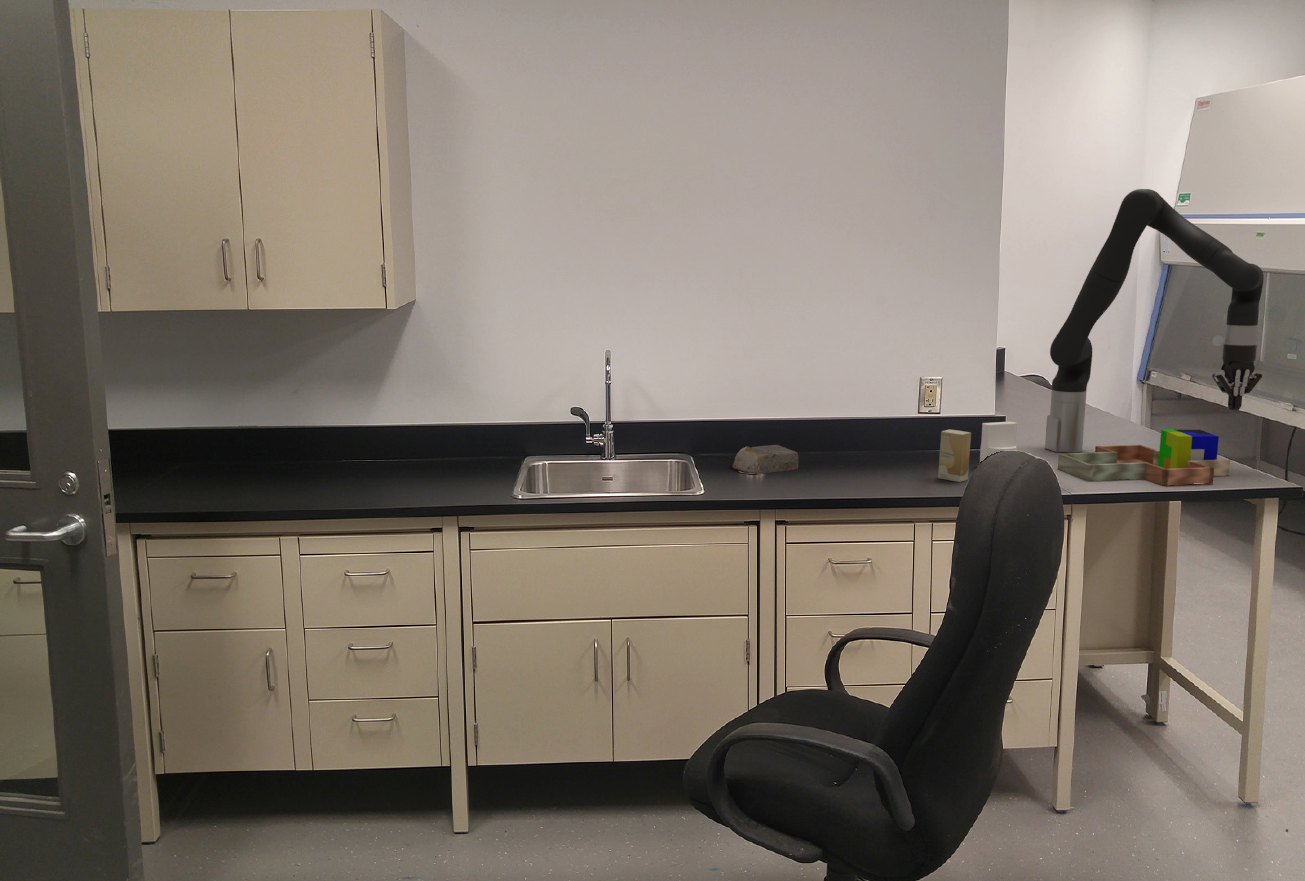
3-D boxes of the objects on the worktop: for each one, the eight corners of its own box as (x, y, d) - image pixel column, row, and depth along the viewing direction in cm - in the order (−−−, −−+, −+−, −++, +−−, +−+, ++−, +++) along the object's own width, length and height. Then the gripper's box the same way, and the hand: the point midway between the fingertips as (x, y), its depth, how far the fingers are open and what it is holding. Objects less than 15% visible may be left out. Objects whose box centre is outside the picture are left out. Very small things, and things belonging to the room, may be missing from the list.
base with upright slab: (992, 472, 277) (994, 426, 275) (972, 465, 285) (975, 421, 283) (1022, 470, 279) (1025, 425, 277) (1002, 463, 288) (1005, 419, 285)
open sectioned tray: (1106, 488, 258) (1107, 472, 258) (1042, 462, 289) (1043, 448, 288) (1250, 482, 264) (1251, 466, 263) (1172, 457, 294) (1173, 443, 293)
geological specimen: (801, 451, 282) (753, 453, 275) (799, 474, 283) (751, 476, 276) (778, 443, 291) (731, 445, 284) (777, 465, 292) (730, 468, 285)
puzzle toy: (1215, 475, 273) (1218, 436, 271) (1175, 475, 273) (1178, 436, 271) (1196, 466, 283) (1199, 429, 281) (1158, 466, 283) (1161, 429, 281)
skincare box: (937, 478, 270) (939, 430, 268) (946, 476, 273) (948, 428, 271) (960, 482, 265) (962, 434, 263) (969, 479, 268) (971, 431, 266)
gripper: (1226, 344, 269) (1220, 412, 272) (1274, 343, 271) (1267, 411, 274) (1207, 342, 276) (1201, 408, 279) (1253, 340, 278) (1247, 407, 281)
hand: (1234, 409), depth 277 cm, fingers closed
